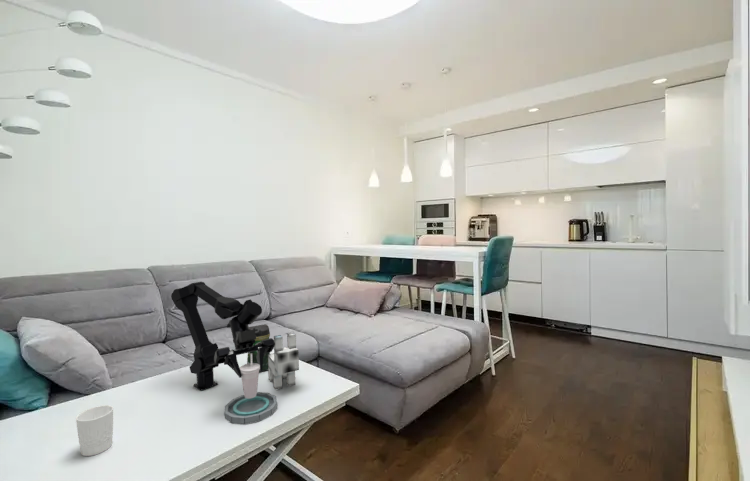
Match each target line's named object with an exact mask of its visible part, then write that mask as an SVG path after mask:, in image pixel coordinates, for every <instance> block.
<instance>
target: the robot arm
mask: <svg viewBox="0 0 750 481" xmlns="http://www.w3.org/2000/svg"><path fill="white" fill-rule="evenodd" d="M170 297H171V298H170V299H171V300H172V302H173V304H174V305H175V308H176V309H178V310H180V311H181V312H182V313H183V316H184V319H185V322H186V324H187V327H188V329H189V333H190V336H191V339H192V341H193V342H192V343H193V344H194V346H195V347H194V348H195V349H194V353H193V359H194V361H193V362H192V363H191V365H189V370H190V373H191V374H195V375H196V383H194V384H192V385H193V388H195V389H197V390H199V391H204V390H206V389H209V388H212V387H215V386H217V385H218V382H217V381H216V380H214V369H215V368H218V367H219V365H221V364H224V365H227V366H229V368H230V369H231V370H233V372H234V373H235V374H236V375H237V376H238V378H240V379H242V378H241V371H240V366H239V362H238V359H237V358H238V357H237V356H240V355H245V354H248V353H249V352H254V351H257V353H258V354H257V356H256V358H257V362H258V364H259V365H260V372H259V373H262V372H263V371H262V368H263V358H264V356H265V355H266V353H270V354H271V352H273V351H274V346H275V342H274V338H270V337H269V339H264V340H262V341H261V343H260V344H259V345H253V344H254V343H255V339H257V338H256V337H260V336H261V329H260V326H259V327H254V328H253V330H250V329H249V327H250V326H249V325H252V324H253V323H254V322H255V321H256V320H257V318H259V317H260V315H261V314H262V313H263V309H262V306H261V305H260V304H259V303H257V302H255V301H253V300H252V299H246V300H245V301H244V302H243V303H241V302H240V301H239V300H238V299H235V298H233V297H227V296H223V295H222V294H220V293H219V292H217V291H216V290H214V289H213V288H211V287H210V286H208V285H206V283H205V282H204V281H196V282H190V284H188V285H185V286H183V287H180V288H174V290H173V291H172V293H171V295H170ZM199 298H200V299H201V300H203V301H204V302H205V303H207V304H209V305H210V306H211V307H212V308H213V309H214V313H215V314H216V315H217V316H218V317H219V318H220V319H221V320H227V319H229V321H228V322H227V324H226V328H228V329H230V331H231V335H232V342H233V344H234V349H230V347H229V346H225V347H222V348H221V347H220V348H219V346H218V344H217V343H216V342H214V343H212V342H211V341H210V339H209V337H208V333H207V331H206V329H205V326H204V323H203V320H202V318H201V315H200V313H199V310H198V308H197V306H198V302H199Z"/></svg>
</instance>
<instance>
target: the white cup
mask: <svg viewBox="0 0 750 481" xmlns="http://www.w3.org/2000/svg"><path fill="white" fill-rule="evenodd" d="M75 421H76V422H75V423H76V428H77V429H76V430H77V438H78V443H79V449H80V454H81V455H82V456H83V457H91V456H96V455H98V454H101V453H104V452H105V451H108V449H110V447H111V446H112V445H113V435H114V434H113V433H114V432H113V431H114V406H112V405H97V406H94V407H91V408H89V409H86V410H84V411H82V412H79V413H78V414H77V415H76V417H75Z"/></svg>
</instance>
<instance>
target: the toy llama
mask: <svg viewBox="0 0 750 481" xmlns="http://www.w3.org/2000/svg"><path fill="white" fill-rule="evenodd" d="M286 335H287V338H286V339H287V347H285V346H283V344H284V343H283V340H284V339H283V335H281V334H279V335H274V336H273V340H274V342H275V346H274V348H273V353H270V354H268V370H267V371H268V381H269V382H270V383H271V382H273V389H274V390H275V391H277V390H280V389H283V380H284V379H286V385H287V387H292V386H296V371H297V372H298V371H300V363H299V362H300V359H299V357H300V356H299V355H300V353H299V348H297V333H295V332H290V333H289V332H288V333H287V334H286Z"/></svg>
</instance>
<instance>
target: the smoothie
mask: <svg viewBox="0 0 750 481" xmlns="http://www.w3.org/2000/svg"><path fill="white" fill-rule="evenodd" d="M250 357H251V363H249V364H247V363H245V364H243V365H241V366H239V368H240V371H241V378H240V379H241V384H242V390H243V395H244V397H245V398H247V399H250V398H254V397H255V396H256V395H257V392H258V384H259V375H260V372H259V370H260V365H259V364H257V363H252V353H251V354H250Z"/></svg>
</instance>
